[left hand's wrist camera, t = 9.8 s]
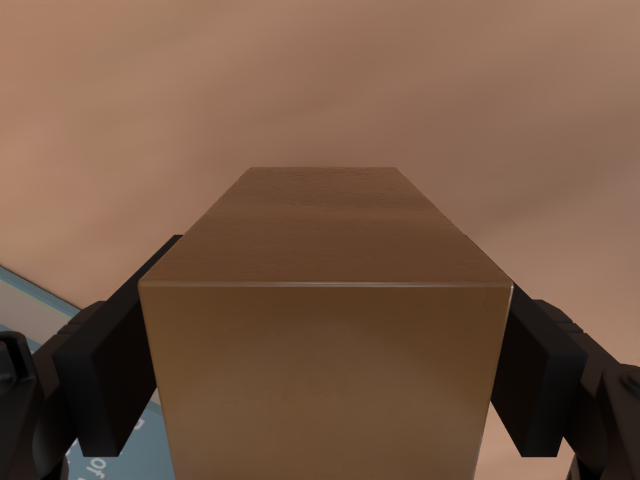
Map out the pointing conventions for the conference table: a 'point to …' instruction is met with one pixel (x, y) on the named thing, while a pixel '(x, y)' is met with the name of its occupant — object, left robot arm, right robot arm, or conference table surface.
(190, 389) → the bar
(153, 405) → the book
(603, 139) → the conference table surface
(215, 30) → the conference table surface
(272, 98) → the conference table surface
